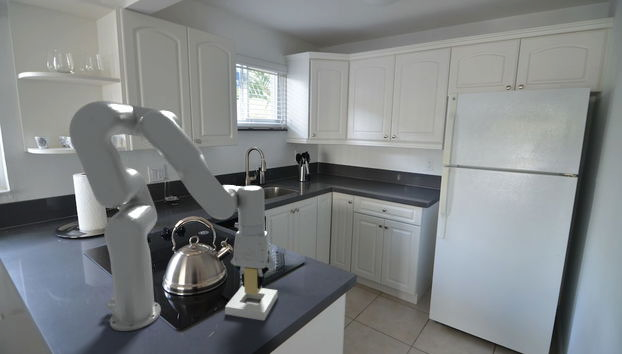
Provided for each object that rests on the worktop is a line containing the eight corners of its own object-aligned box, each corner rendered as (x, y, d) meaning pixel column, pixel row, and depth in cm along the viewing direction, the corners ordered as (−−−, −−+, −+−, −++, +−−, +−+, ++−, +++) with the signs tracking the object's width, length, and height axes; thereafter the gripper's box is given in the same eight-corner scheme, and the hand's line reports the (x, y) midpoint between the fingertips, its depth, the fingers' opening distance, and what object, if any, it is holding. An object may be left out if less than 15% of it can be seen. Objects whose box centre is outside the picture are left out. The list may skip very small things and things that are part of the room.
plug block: (244, 292, 92) (243, 268, 90) (249, 285, 95) (249, 262, 94) (257, 294, 91) (256, 269, 89) (262, 287, 95) (261, 263, 93)
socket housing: (225, 314, 89) (225, 306, 89) (242, 292, 101) (242, 285, 100) (264, 320, 87) (264, 312, 86) (277, 297, 98) (277, 290, 98)
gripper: (219, 230, 87) (221, 288, 91) (275, 235, 84) (275, 295, 87) (231, 221, 95) (233, 276, 98) (283, 226, 91) (283, 282, 95)
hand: (253, 284), depth 93 cm, fingers closed on plug block, 4 cm apart
